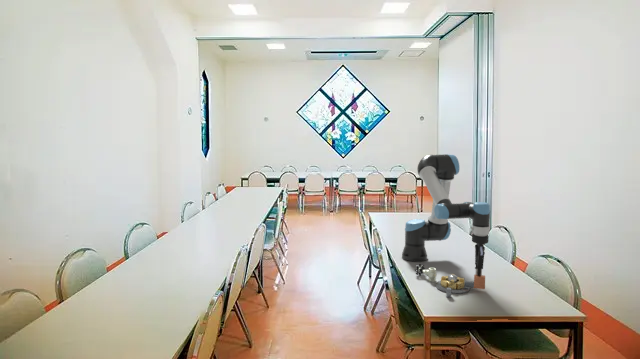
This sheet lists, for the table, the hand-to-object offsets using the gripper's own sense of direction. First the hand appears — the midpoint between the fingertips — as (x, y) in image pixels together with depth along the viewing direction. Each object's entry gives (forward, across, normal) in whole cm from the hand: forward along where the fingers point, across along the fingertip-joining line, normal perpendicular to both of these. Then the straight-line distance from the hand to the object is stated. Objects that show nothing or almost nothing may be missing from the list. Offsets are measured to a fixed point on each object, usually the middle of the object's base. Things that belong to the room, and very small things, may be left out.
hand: (478, 280), depth 209 cm
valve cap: (+4, 0, -12) cm, 13 cm away
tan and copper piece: (+3, +1, -8) cm, 8 cm away
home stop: (+4, +13, -15) cm, 20 cm away
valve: (+5, -10, -24) cm, 27 cm away
